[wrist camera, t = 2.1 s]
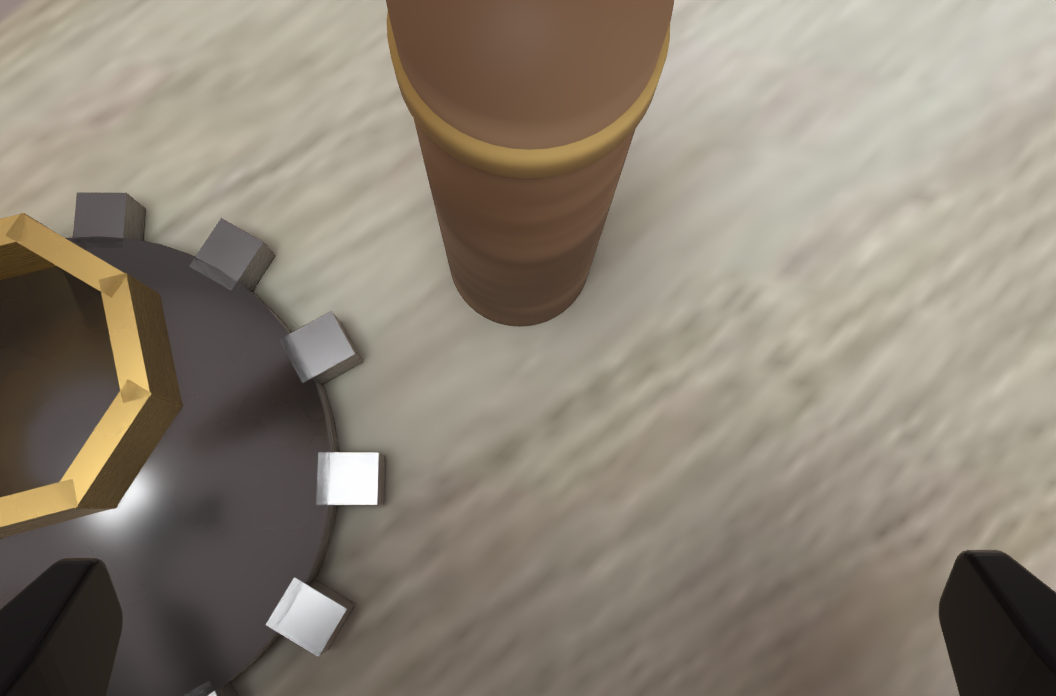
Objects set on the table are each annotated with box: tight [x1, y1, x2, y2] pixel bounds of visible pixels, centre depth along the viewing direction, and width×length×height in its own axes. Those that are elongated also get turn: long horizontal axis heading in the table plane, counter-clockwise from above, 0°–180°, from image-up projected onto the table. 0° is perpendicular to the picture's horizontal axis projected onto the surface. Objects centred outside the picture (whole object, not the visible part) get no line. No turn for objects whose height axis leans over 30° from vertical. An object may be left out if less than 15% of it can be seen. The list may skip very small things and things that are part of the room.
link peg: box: [386, 0, 674, 326], centre depth 18 cm, size 4×4×12 cm
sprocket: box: [0, 193, 385, 696], centre depth 21 cm, size 14×14×3 cm
